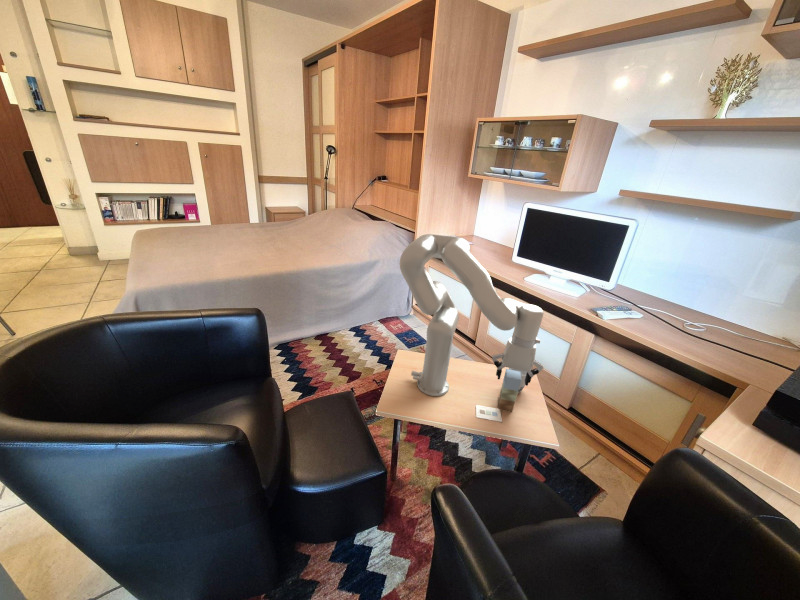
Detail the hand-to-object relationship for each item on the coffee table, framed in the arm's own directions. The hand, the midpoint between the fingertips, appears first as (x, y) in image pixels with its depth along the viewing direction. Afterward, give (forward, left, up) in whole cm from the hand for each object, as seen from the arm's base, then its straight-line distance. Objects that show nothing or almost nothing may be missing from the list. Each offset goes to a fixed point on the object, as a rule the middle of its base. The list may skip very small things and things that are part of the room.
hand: (512, 380), depth 119 cm
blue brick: (0, 0, -2) cm, 2 cm away
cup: (+4, +12, -12) cm, 18 cm away
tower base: (0, 0, -12) cm, 12 cm away
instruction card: (-6, -6, -12) cm, 15 cm away
